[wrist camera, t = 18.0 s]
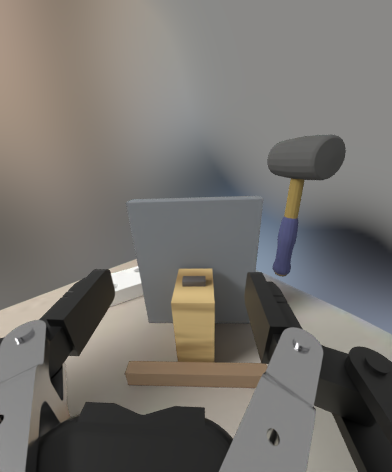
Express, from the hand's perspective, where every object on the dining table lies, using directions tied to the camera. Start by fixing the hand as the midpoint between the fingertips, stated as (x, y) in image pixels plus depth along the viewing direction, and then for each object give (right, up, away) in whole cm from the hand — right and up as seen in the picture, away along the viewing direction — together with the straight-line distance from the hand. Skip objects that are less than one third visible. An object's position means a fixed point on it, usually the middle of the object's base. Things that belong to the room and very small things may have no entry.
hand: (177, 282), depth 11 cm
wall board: (+1, -14, +18) cm, 23 cm away
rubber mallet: (+22, -7, +34) cm, 41 cm away
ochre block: (+1, -14, +18) cm, 23 cm away
